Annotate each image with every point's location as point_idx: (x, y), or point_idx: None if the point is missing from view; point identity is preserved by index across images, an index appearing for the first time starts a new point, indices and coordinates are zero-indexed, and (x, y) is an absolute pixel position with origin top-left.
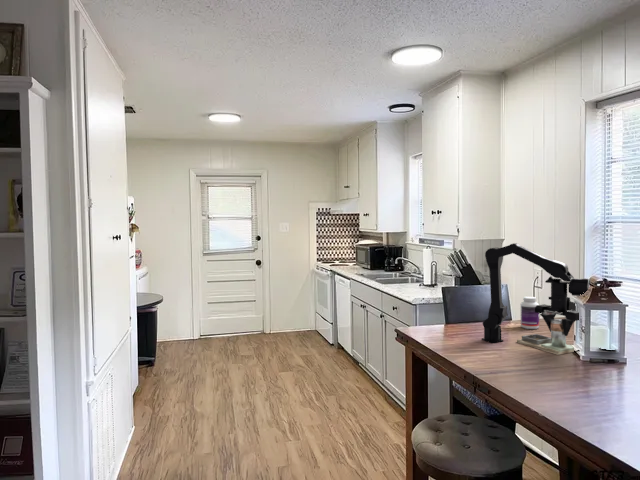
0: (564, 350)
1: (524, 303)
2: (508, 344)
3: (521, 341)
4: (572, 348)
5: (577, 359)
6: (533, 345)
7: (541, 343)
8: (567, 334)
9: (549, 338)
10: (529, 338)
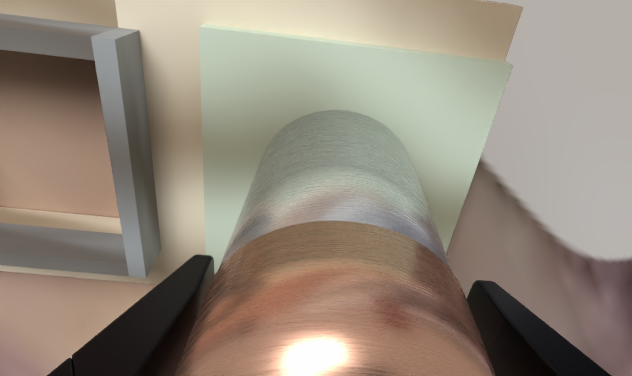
0: (443, 245)
1: None
2: (12, 335)
3: (2, 269)
4: (480, 144)
5: (579, 279)
6: (156, 280)
7: (154, 211)
8: (505, 301)
9: (108, 91)
10: (25, 264)
